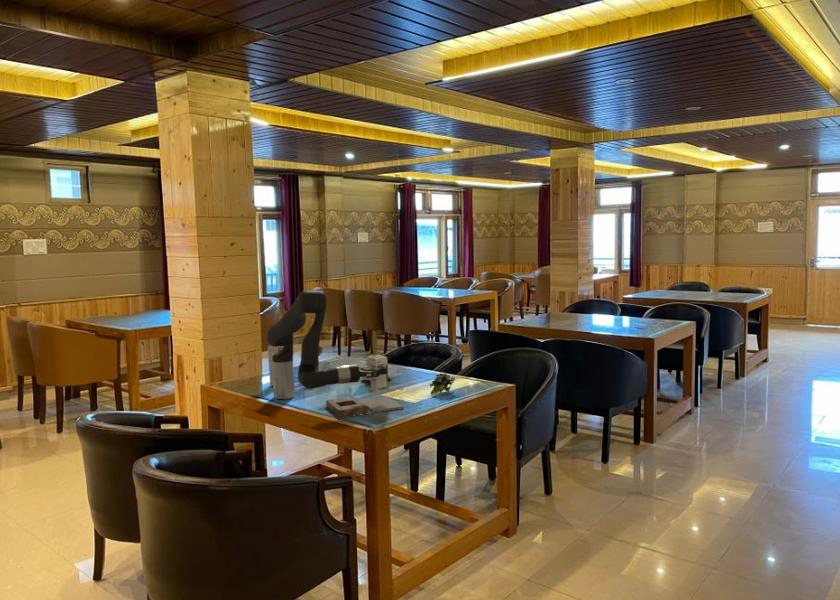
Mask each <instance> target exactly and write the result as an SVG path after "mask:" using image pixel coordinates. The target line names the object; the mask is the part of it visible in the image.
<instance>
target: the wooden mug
mask: <svg viewBox="0 0 840 600" xmlns="http://www.w3.org/2000/svg"><path fill="white" fill-rule="evenodd" d="M323 349H324V348H323V347H322V346H320V345H319V356H318V358H319V357H320V356H321V354H322V352H323ZM319 367H320V361H319V359H318V362H317V363H316V365H315V371H320V370H319Z"/></svg>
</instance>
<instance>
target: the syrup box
mask: <svg viewBox="0 0 840 600" xmlns="http://www.w3.org/2000/svg"><path fill="white" fill-rule="evenodd" d="M388 367H389V366H388V357H387V356H385V355H381V356H376V357H370V368H373V369H374V370H376V369H387V374H383V375H379V377H372V378H371V381H370V391H373V392H375V393H379V392H386V391H389V390H390V389H389V378H388V373H389V370H388V369H389V368H388ZM374 374H376V372H375V373H374Z"/></svg>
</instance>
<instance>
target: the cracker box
mask: <svg viewBox="0 0 840 600" xmlns="http://www.w3.org/2000/svg"><path fill="white" fill-rule="evenodd" d="M282 348H283V346H279V347H273V346H271V345H270V344H269V345H267V359H268V371H269V386H273V377H274V376H273V360H272V357H273V355H274V354H276V353H278V352H279V351H280V350H282Z"/></svg>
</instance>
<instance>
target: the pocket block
mask: <svg viewBox="0 0 840 600" xmlns="http://www.w3.org/2000/svg"><path fill="white" fill-rule="evenodd" d="M359 400H360V399H357V398H356V397H354V396H347V397H340V398H339V397H338V398H333V399H326V400H325V402H326V403H325V405H326V406H327V407H328V408H329V409H328V408H327V407H326V406H325V407H326V408H327V409H328V410H329V411H331V410H332V411H333V412H334V413H333V412H332V411H331V412H332V413H333V414H335V415H336V416H337V417H338V416H339V417H338V418H339V419H343V418H342V417H345V418H349V417H348V416H351V417H354V416H353V415H358V416H361V415H360V414H365V415H367V414H366V413H368V414H369V409H368V406H366V405H365V404H363V403H362V402H360V401H359Z"/></svg>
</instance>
